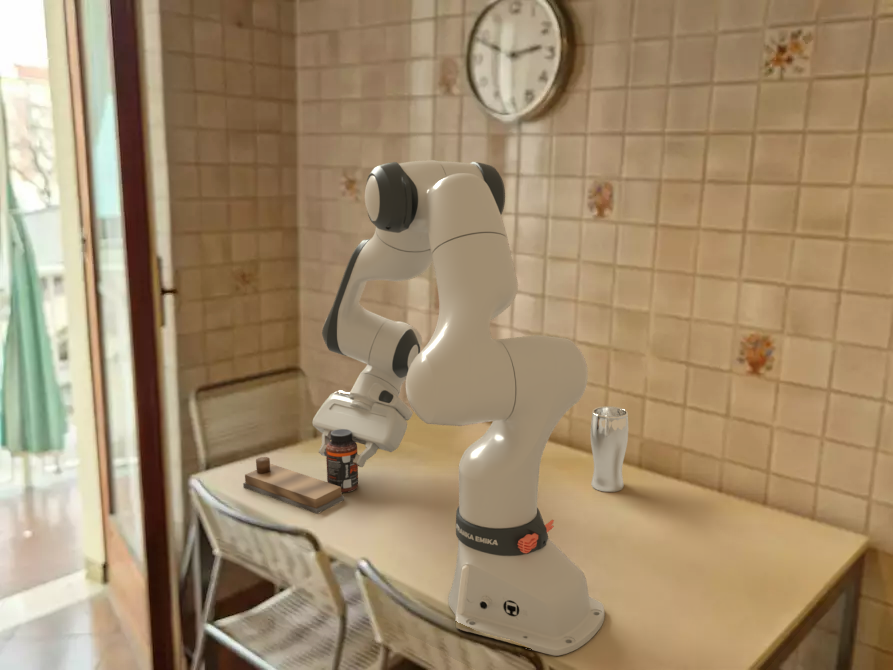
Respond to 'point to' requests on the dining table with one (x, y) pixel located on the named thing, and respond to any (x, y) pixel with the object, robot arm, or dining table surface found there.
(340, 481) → the supplement bottle
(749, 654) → the dining table surface
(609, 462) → the beer glass
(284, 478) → the body
